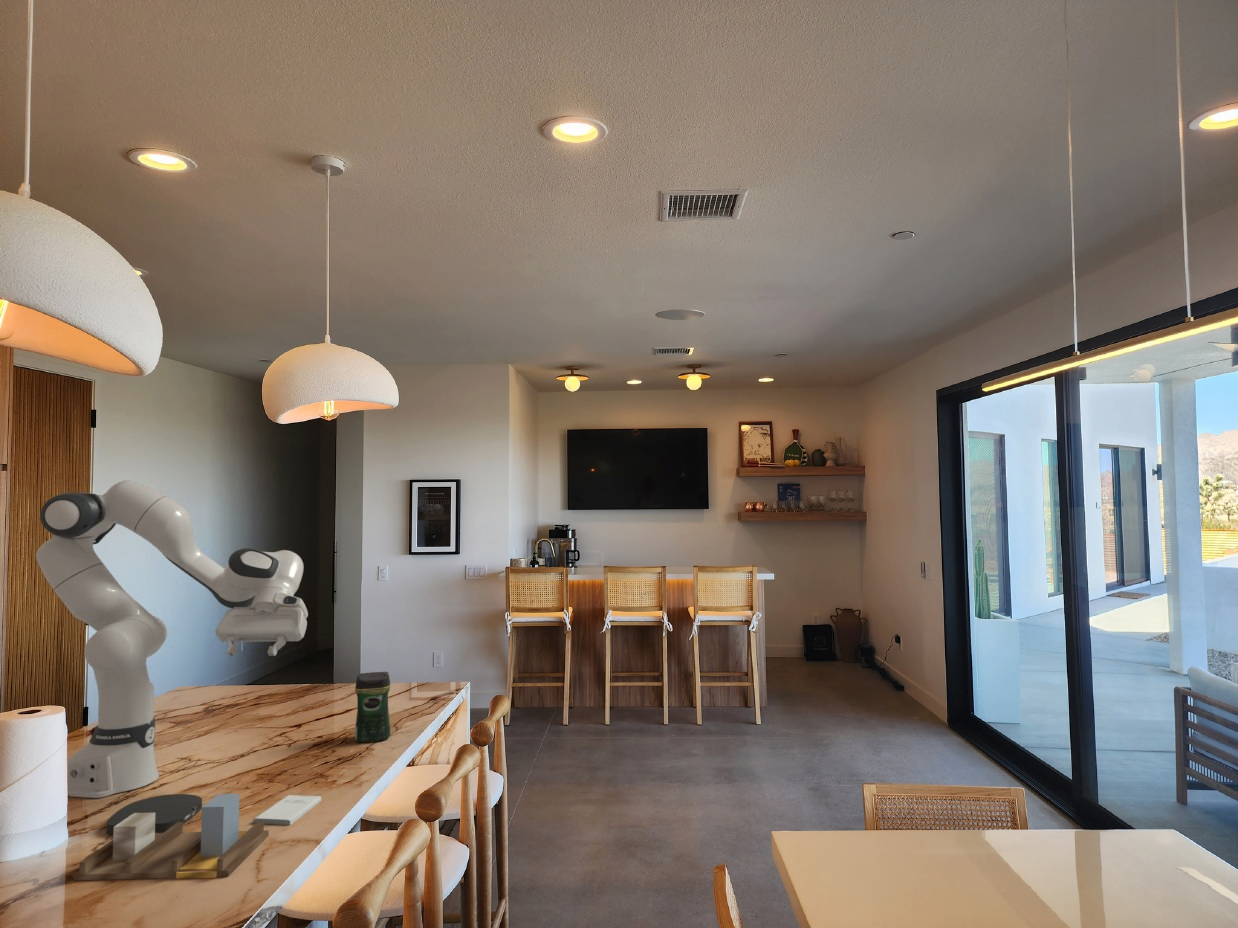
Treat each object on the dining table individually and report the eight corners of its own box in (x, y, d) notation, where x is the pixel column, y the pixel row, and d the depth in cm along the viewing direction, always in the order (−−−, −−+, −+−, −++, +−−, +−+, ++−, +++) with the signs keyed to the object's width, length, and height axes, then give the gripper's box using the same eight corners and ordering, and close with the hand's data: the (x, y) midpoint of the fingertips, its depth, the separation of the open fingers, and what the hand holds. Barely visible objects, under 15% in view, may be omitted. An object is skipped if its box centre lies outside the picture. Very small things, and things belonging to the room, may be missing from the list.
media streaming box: (140, 807, 159) (141, 793, 159) (208, 805, 160) (209, 791, 160) (97, 837, 145) (97, 822, 145) (172, 835, 145) (173, 820, 146)
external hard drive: (253, 825, 150) (287, 801, 162) (290, 827, 149) (321, 802, 161) (253, 817, 150) (287, 794, 162) (290, 819, 149) (321, 795, 162)
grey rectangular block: (200, 856, 133) (201, 807, 134) (217, 841, 139) (218, 794, 140) (222, 856, 133) (223, 806, 134) (238, 841, 139) (239, 793, 140)
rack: (72, 881, 127) (73, 840, 127) (131, 838, 143) (132, 802, 144) (227, 877, 128) (228, 836, 128) (268, 835, 144) (269, 799, 145)
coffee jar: (390, 732, 209) (391, 668, 210) (389, 741, 202) (390, 674, 203) (355, 735, 207) (356, 670, 208) (353, 744, 199) (354, 676, 200)
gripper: (224, 599, 178) (201, 647, 167) (308, 598, 178) (290, 646, 168) (232, 614, 182) (211, 662, 171) (314, 614, 182) (297, 661, 172)
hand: (251, 654), depth 170 cm, fingers open, 8 cm apart
